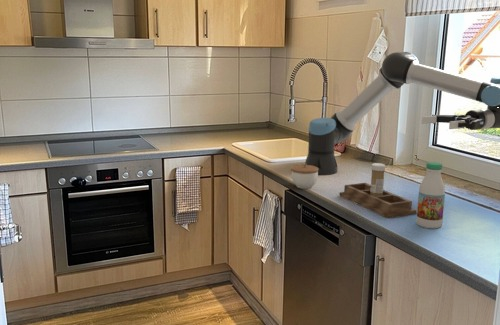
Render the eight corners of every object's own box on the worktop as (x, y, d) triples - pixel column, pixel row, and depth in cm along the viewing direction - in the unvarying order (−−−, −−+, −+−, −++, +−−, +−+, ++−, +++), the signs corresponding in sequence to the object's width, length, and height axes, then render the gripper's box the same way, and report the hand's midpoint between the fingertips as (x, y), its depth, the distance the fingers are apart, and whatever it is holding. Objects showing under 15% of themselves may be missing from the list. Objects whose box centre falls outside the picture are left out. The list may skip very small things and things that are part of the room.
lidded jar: (300, 181, 207) (301, 159, 204) (322, 186, 200) (323, 163, 198) (285, 187, 198) (286, 164, 196) (308, 191, 192) (309, 168, 190)
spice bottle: (367, 199, 179) (370, 162, 176) (380, 198, 179) (382, 162, 176) (371, 202, 175) (374, 165, 172) (384, 202, 175) (387, 165, 172)
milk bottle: (412, 220, 160) (417, 160, 156) (435, 220, 161) (441, 160, 156) (421, 229, 153) (427, 166, 148) (446, 229, 153) (452, 166, 149)
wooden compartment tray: (339, 195, 187) (339, 184, 186) (365, 192, 192) (366, 181, 191) (387, 218, 162) (388, 206, 161) (416, 213, 167) (417, 201, 166)
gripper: (505, 134, 179) (461, 138, 171) (452, 124, 201) (411, 127, 193) (508, 113, 177) (463, 116, 169) (454, 106, 199) (412, 108, 191)
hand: (435, 122), depth 181 cm, fingers open, 13 cm apart
